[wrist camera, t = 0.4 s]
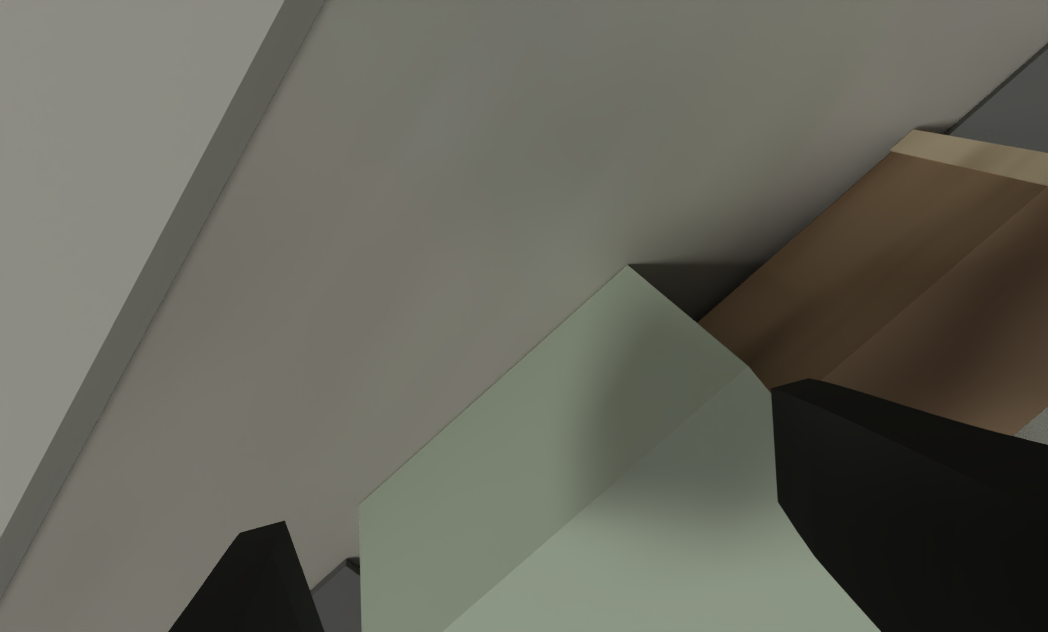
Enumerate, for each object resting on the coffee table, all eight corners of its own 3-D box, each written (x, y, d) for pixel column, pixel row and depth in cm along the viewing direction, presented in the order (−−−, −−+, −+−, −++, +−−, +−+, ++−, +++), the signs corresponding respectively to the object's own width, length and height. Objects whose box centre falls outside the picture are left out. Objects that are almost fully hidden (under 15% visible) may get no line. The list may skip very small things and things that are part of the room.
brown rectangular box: (989, 260, 23) (1156, 321, 18) (678, 526, 24) (760, 649, 19) (913, 129, 21) (1079, 158, 16) (576, 425, 22) (640, 535, 17)
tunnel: (809, 479, 25) (966, 631, 18) (576, 676, 25) (651, 886, 19) (627, 264, 21) (748, 366, 14) (358, 505, 21) (363, 700, 15)
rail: (1236, -4, 22) (1244, -4, 22) (461, 663, 24) (462, 667, 24) (1206, -96, 21) (1214, -97, 20) (394, 614, 23) (395, 619, 23)
